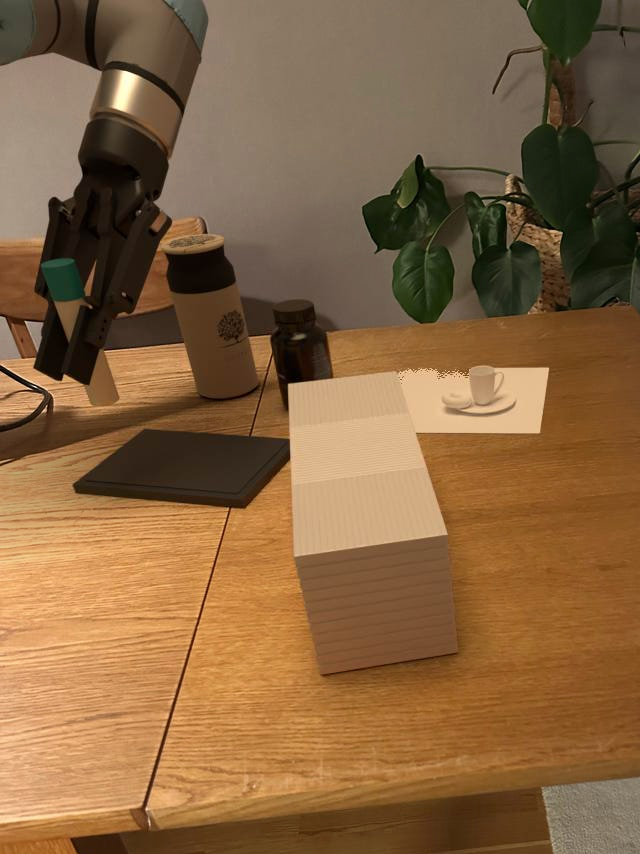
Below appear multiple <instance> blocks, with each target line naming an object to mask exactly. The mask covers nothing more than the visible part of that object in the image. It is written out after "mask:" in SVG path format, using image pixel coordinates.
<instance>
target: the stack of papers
mask: <svg viewBox="0 0 640 854" xmlns="http://www.w3.org/2000/svg"><path fill="white" fill-rule="evenodd" d="M288 400H289V409H288V423H289V424H288V426H289V427H288V429H289V439H290V459H289V460H290V481H291V482H290V485H291V512H292V514H291V515H292V516H291V517H292V544H293V545H292V546H293V547H292V548H293V559H294V564H295V568H296V573H297V576H298V582H299V585H300V591H301V595H302V600H303V603H304V608H305V612H306V617H307V621H308V626H309V630H310V631H309V632H310V634H311V639H312V643H313V649H314V652H315V658H316V662H317V664H318V670H319V675H321V676H323V675H327V674H328V675H329V674H332V673H341V672H345V671H352V670H359V669H365V668H370V667H371V668H372V667H377V666H383V665H390V664H395V663H402V662H408V661H414V660H421V659H426V658H433V657H439V656H445V655H451V654H457V653H459V647H458V635H457V625H456V612H455V603H454V592H453V588H454V587H453V579H452V577H453V575H452V570H451V568H452V565H451V558H450V556H451V554H450V553H451V552H450V546H449V545H450V543H449V533H448V530H447V526H446V524H445V521H444V518H443V515H442V511H441V508H440V505H439V502H438V499H437V496H436V492H435V489H434V486H433V483H432V480H431V476H430V473H429V471H428V467H427V464H426V461H425V458H424V454H423V452H422V449H421V445H420V442H419V439H418V435H417V433H416V432H415V429H414V426H413V423H412V420H411V416H410V413H409V410H408V407H407V404H406V401H405V397H404V394H403V391H402V388H401V385H400V382H399V378H398V373H397V370H393V371H383V372H376V373H369V374H368V373H367V374H361V375H352V376H351V375H350V376H343V377H334V379H326V380H317V381H309V382H301V383H293V384H288Z"/></svg>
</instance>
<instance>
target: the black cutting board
mask: <svg viewBox="0 0 640 854" xmlns="http://www.w3.org/2000/svg"><path fill="white" fill-rule="evenodd" d="M289 460H291V459H290V438H287V437H272V436H271V437H270V436H259V435H257V436H256V435H243V434H242V435H241V434H230V433H229V434H227V433H216V432H215V433H213V432H199V431H187V430H186V431H185V430H171V429H170V430H169V429H156V428H154V429H153V428H143V429H142V430H141V431H140V432H138V433H136V434H135V435H134V436H133V437H132V438H130V439H129V440H127V441H126V442H125V443H124V444H122V445H121V446H120V447H118V448H117V449H116V450H115V451H113V452H112V453H111V454H110V455H108V456H106V458H104V459H103V460H101V462H99V463H98V464H97V465H96V466H95V467H93V468H92V469H90V470H89V471H87V472H86V473H85V474H84V475H82V476H81V477H79V479H78V480H76V481H75V482H73V483H72V484H71V485H72V488H73V490H74V493H76V494H83V495H84V494H85V495H95V496H106V497H118V498H128V499H138V500H151V501H162V502H172V503H185V504H197V505H205V506H206V505H207V506H217V507H228V508H240V509H245V508H246V507H247V506H248V505H249V504H250V503H251V502H252V501H253V499H254V498H255V497H256V496H257V495H258V494H259V493H260V492H261V491H262V489H264V487H265V486H266V485H267V484H268V483H269V482H270V481H271V480H272V479H273V478H274V477H275V475H277V473H278V472H279V471H281V469H282V468H283V467H284V466H285V465H286V464H287V463H288V461H289Z"/></svg>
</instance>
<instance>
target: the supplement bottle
mask: <svg viewBox="0 0 640 854" xmlns="http://www.w3.org/2000/svg"><path fill="white" fill-rule="evenodd" d="M272 313H273V321H274V325H275V326H277V327H275V328H274V330H273V331H272V332H271V334H270V338H269V341H270V347H271V348H270V349H271V353H272V357H273V364H274V368H275V374H276V377H277V383H278V388H279V392H280V397H281V402H282V404H283V406H284V407H285V409H287V410H289V400H288V384H293V383H301V382H309V381H317V380H326V379H334V378H335V376H334V375H335V374H334V369H333V363H332V357H331V351H330V344H329V338H328V333H327V331H326V330H325V328H324V327H323V326H322V325H321V324H319V323H317V322H316V321H317V320H318V319H317V314H316V310H315V304H314V302H313V301H312V300H309V299H304V298H303V299H302V298H295V299H294V298H293V299H287V300H282V301H279V302H276V303H275V304H273V306H272Z"/></svg>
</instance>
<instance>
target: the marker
mask: <svg viewBox="0 0 640 854" xmlns="http://www.w3.org/2000/svg"><path fill="white" fill-rule="evenodd" d="M41 268H42V271H43V274H44V277H45V280H46V282H47V285H48V288H49V291H50V294H51V296H52V299H53V300H54V303H55V306H56V309H57V311H58V314H59V317H60V320H61V323H62V325H63V328H64V331H65V334H66V337H67V339H68V342H70V339H71V335H72V332H73V328H74V325H75V322H76V318H77V315H78V311H79V308H80V305H84V306H88V307H89V308H91V306H90V305H89V304H88V303H86V302H85V301H84V300H83V296H84V297H85V296H87V295H86V290H85V288H84V287H83V284H82V281H81V278H80V275H79V272H78V269H77V266H76V263H75V261H74V259H69V258H62V259H54V260H50V261H47V262H44V263H42V264H41ZM116 385H117V384H116V383H115V380H114V376H113V374H112V370H111V368H110V364H109V362H108V358H107V356H106V352H105V350H104V347H103V348H102V349H100V350H99V354H98V357H97V361H96V364H95V368H94V371H93V374H92V378H91V381H90V385H83V386H84V390H85V393H86V395H87V398H88V400H89V403H90V405H91V406H92V407H106V406H111V405H113V404H116V403H117V402H118V401H120V399H121V398H120V394H119V391H118V389H117V386H116Z"/></svg>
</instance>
